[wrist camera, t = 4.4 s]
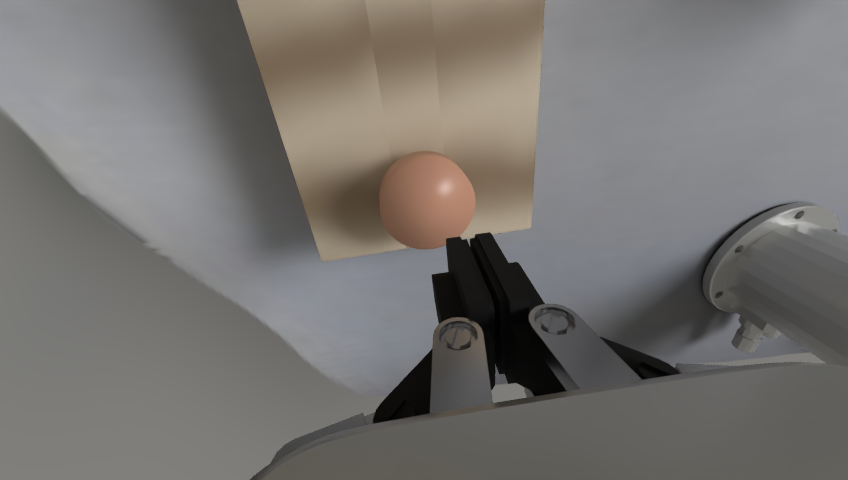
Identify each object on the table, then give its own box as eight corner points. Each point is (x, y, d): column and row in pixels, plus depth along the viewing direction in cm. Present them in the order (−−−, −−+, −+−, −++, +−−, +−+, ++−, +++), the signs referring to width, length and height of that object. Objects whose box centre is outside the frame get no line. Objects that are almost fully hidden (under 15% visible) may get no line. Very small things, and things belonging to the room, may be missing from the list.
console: (505, 199, 26) (531, 228, 22) (331, 227, 25) (322, 262, 21) (511, -236, 15) (566, -352, 11) (205, -210, 14) (131, -325, 10)
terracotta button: (453, 198, 24) (476, 241, 18) (385, 208, 24) (388, 255, 18) (448, 127, 21) (473, 153, 16) (372, 138, 21) (371, 168, 15)
